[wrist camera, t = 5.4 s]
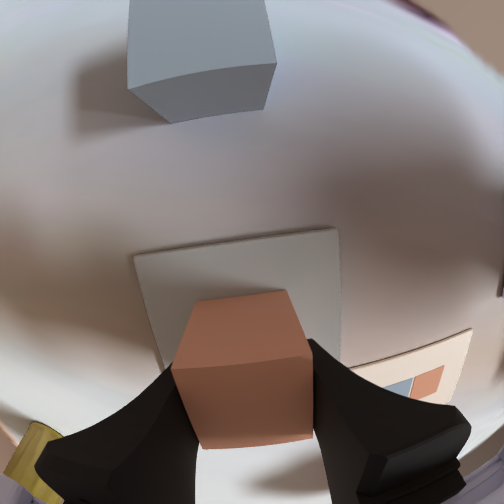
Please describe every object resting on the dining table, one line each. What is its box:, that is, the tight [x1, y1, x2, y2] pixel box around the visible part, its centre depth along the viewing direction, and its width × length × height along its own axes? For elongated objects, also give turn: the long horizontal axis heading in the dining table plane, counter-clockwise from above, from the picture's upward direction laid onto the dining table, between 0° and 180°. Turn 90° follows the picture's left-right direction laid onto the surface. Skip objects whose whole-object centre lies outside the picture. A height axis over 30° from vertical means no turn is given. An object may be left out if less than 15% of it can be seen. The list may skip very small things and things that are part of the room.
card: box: [349, 328, 473, 404], centre depth 15 cm, size 10×7×1 cm
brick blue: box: [127, 0, 277, 124], centre depth 8 cm, size 4×4×5 cm
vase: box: [3, 422, 63, 504], centre depth 9 cm, size 6×6×14 cm
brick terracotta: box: [171, 290, 313, 449], centre depth 10 cm, size 4×4×5 cm
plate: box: [133, 228, 341, 369], centre depth 13 cm, size 9×9×1 cm
